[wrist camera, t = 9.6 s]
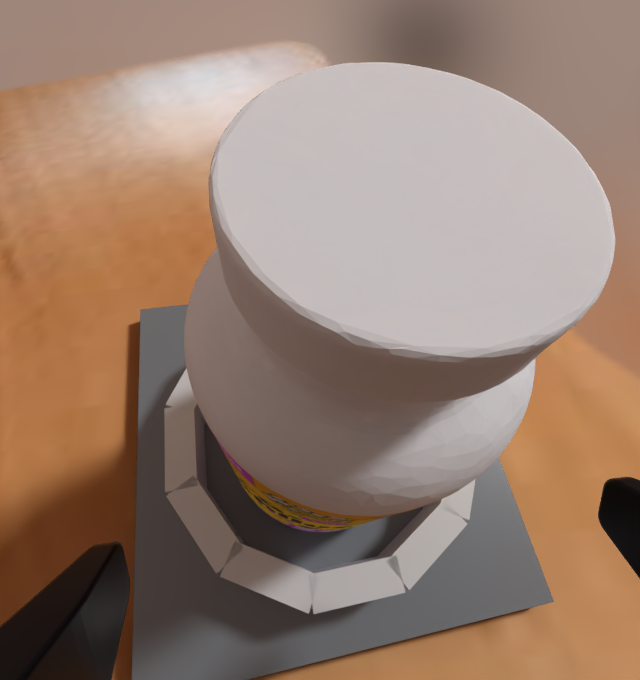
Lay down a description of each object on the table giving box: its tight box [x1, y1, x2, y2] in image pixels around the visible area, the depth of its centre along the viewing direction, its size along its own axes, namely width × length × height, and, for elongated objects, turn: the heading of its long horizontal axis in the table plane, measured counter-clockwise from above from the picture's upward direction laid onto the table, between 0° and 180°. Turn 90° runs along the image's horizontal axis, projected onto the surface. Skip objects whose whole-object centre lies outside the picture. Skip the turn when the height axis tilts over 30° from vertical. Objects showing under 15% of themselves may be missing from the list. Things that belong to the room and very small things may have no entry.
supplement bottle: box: [184, 62, 615, 532], centre depth 10 cm, size 7×7×13 cm
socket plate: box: [132, 305, 554, 680], centre depth 15 cm, size 14×14×3 cm
